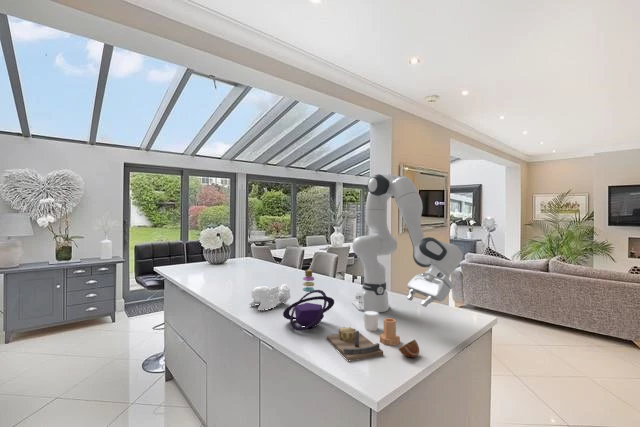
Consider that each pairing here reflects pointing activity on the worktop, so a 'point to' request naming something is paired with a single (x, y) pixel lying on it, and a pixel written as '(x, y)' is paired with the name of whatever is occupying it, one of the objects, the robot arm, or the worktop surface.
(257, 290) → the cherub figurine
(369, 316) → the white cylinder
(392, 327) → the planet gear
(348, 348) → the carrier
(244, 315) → the worktop surface
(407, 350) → the fruit slice
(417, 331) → the worktop surface
